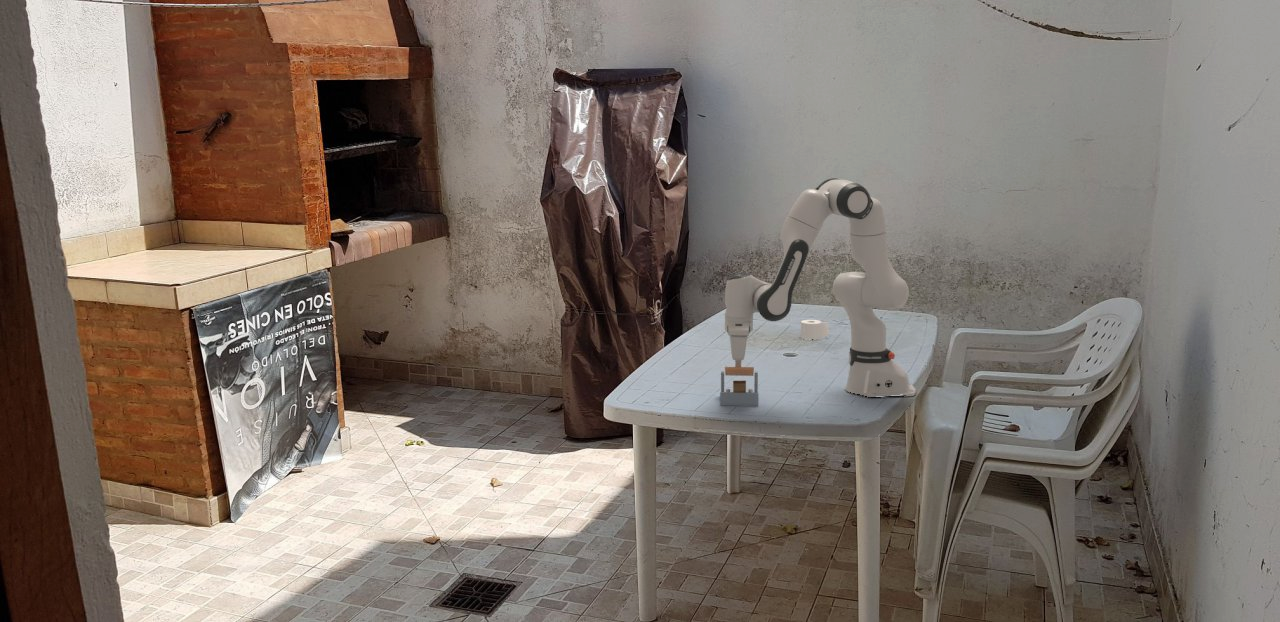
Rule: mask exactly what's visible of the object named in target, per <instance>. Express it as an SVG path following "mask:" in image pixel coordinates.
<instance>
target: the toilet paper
mask: <svg viewBox="0 0 1280 622" xmlns="http://www.w3.org/2000/svg"><path fill="white" fill-rule="evenodd" d="M828 335H830V331H829V325H828V322H827V321H825V322H822V321H821V320H817V319H804V320H801V321H800V338H801V337H802V338H805V339H819V338H822V337H825V336H828Z"/></svg>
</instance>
